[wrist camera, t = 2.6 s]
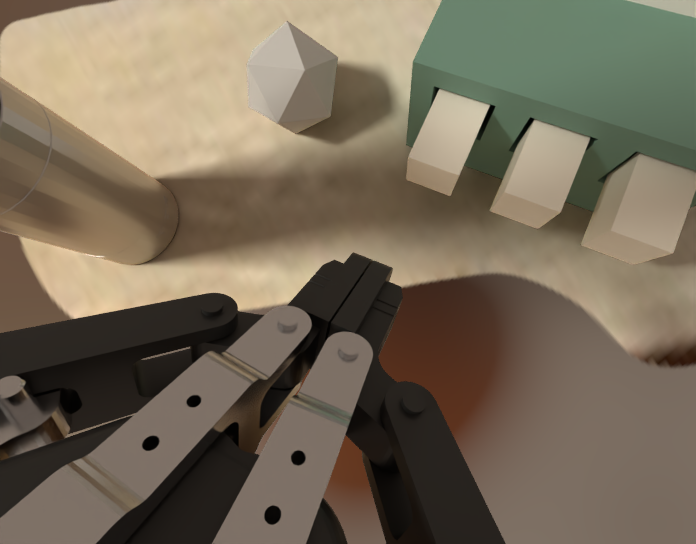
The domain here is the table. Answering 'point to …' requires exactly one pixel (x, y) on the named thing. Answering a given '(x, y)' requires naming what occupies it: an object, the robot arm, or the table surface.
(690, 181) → the button right
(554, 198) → the button mid
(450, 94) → the button left
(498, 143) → the console
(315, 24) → the table surface
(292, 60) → the die
